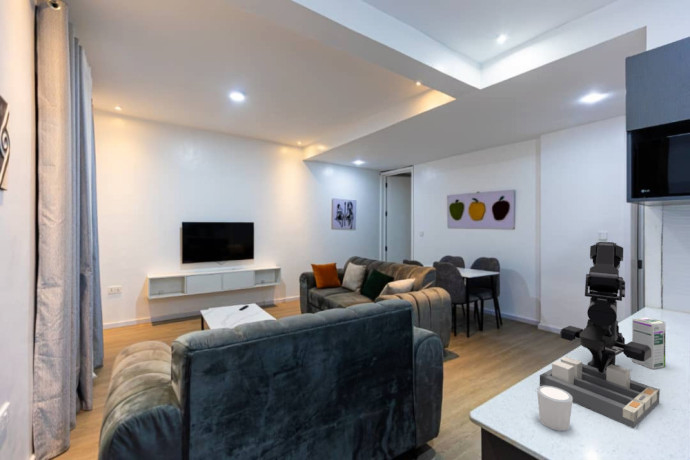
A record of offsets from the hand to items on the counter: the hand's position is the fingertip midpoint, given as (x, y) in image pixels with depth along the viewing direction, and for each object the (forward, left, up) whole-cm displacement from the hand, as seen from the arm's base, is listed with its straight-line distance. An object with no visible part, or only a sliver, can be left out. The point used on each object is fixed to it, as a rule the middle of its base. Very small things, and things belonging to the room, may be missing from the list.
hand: (601, 372), depth 86 cm
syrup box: (-30, +2, -5) cm, 30 cm away
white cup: (+27, 0, -5) cm, 27 cm away
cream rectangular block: (+10, -5, -3) cm, 12 cm away
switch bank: (+5, +1, -4) cm, 7 cm away
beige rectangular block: (+5, -5, -3) cm, 8 cm away
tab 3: (0, +4, -3) cm, 5 cm away
